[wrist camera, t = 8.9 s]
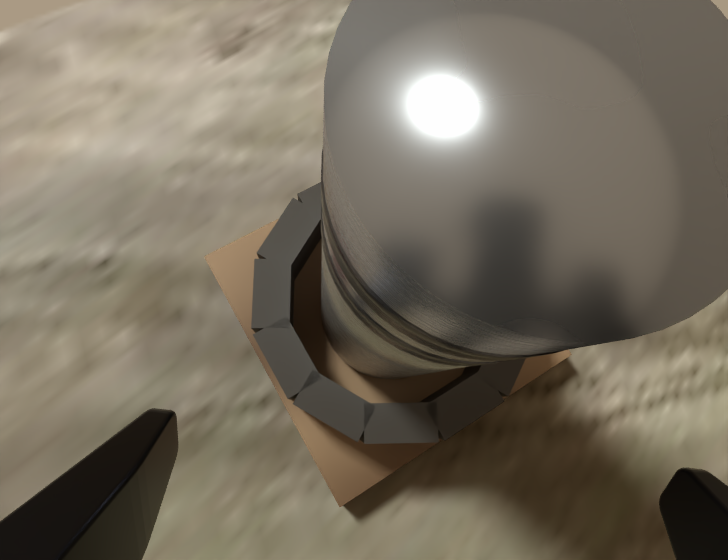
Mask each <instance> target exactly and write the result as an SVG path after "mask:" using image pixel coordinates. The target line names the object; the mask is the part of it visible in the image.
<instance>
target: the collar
mask: <svg viewBox="0 0 728 560" xmlns="http://www.w3.org/2000/svg"><path fill="white" fill-rule="evenodd" d="M204 257H205V259H206V261H207V263H208V265H209V267H210V268H211V270H212V272H213V274H214V276H215V278H216V280H217V281H218V283H219V285H220V287H221V289H222V291H223V292H224V294H225V296H226V298H227V300H228V302H229V304H230V305H231V307H232V309H233V311H234V313H235V315H236V317H237V318H238V320H239V322H240V324H241V326H242V328H243V329H244V331H245V333H246V335H247V337H248V339H249V341H250V342H251V344H252V346H253V348H254V350H255V352H256V353H257V355H258V357H259V359H260V361H261V363H262V365H263V366H264V368H265V370H266V372H267V374H268V376H269V378H270V379H271V381H272V383H273V385H274V387H275V389H276V390H277V392H278V394H279V396H280V398H281V400H282V402H283V403H284V405H285V407H286V409H287V411H288V413H289V415H290V416H291V418H292V420H293V422H294V424H295V426H296V427H297V429H298V431H299V433H300V435H301V437H302V439H303V440H304V442H305V444H306V446H307V448H308V450H309V452H310V453H311V455H312V457H313V459H314V461H315V463H316V464H317V466H318V468H319V470H320V472H321V474H322V476H323V477H324V479H325V481H326V483H327V485H328V487H329V488H330V490H331V492H332V494H333V496H334V498H335V500H336V501H337V503H338V505H339V507H341V506H343V505H344V504H346V503H347V502H349V501H350V500H352V499H353V498H355V497H356V496H358V495H359V494H361V493H362V492H364V491H366V490H367V489H369V488H370V487H372V486H373V485H375V484H376V483H378V482H379V481H381V480H382V479H384V478H385V477H387V476H388V475H390V474H391V473H393V472H394V471H396V470H397V469H399V468H400V467H402V466H403V465H405V464H406V463H408V462H410V461H411V460H413V459H414V458H416V457H417V456H419V455H420V454H422V453H423V452H425V451H426V450H428V449H429V448H431V447H432V446H434V445H435V444H437V443H438V442H440V441H441V440H447V439H448V438H450V437H451V436H453V435H454V434H456V433H457V432H459V431H460V430H462V429H463V428H465V427H466V426H468V425H469V424H471V423H472V422H474V421H475V420H477V419H478V418H480V417H481V416H483V415H484V414H486V413H487V412H489V411H490V410H492V409H494V408H495V407H497V406H498V405H500V404H501V403H503V402H504V399H505V398H507V397H508V396H510V395H511V394H513V393H514V392H516V391H517V390H519V389H520V388H522V387H523V386H525V385H526V384H528V383H529V382H531V381H532V380H534V379H536V378H537V377H539V376H540V375H542V374H543V373H545V372H546V371H548V370H549V369H551V368H552V367H554V366H555V365H557V364H558V363H560V362H561V361H563V360H564V359H566V358H567V357H569V356H570V355H572V354H571V353H570V351H569V350H564V351H561V352H557V353H554V354H548V355H542V356H536V357H530V358H523V359H515V360H511V361H505V362H499V363H493V364H486V365H478V366H469V367H463V368H458V369H452V370H446V371H440V372H434V373H429V374H423V375H417V376H411V377H405V378H399V379H381V378H375V377H371V376H368V375H365V374H363V373H360V372H358V371H357V370H355V369H353V368H352V367H350V366H349V365H348V364H346V363H345V362H344V361H343V360H342V359H341V358H340V357H339V356H338V355H337V354H336V352H335V351H334V350H333V348H332V347H331V345H330V343H329V342H328V340H327V337H326V335H325V332H324V329H323V325H322V320H321V267H322V236H321V182H320V183H318V184H316V185H314V186H312V187H310V188H308V189H306V190H304V191H302V192H300V193H298V200H296V199H294V198H293V199H292V200H291V202H290V203H289V205H288V206H287V208H286V209H285V211H284V212H283V214H282V215H281V217H280V218H279V219H277V220H275V221H273V222H271V223H269V224H267V225H265V226H263V227H261V228H259V229H257V230H255V231H253V232H251V233H249V234H247V235H245V236H243V237H241V238H240V239H238V240H236V241H234V242H232V243H230V244H228V245H226V246H224V247H222V248H220V249H218V250H216V251H214V252H212V253H210V254H208V255H206V256H204Z"/></svg>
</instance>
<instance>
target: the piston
mask: <svg viewBox="0 0 728 560" xmlns="http://www.w3.org/2000/svg"><path fill="white" fill-rule="evenodd" d="M321 236H322V267H321V320H322V325H323V329H324V332H325V335H326V337H327V340H328V342H329V343H330V345H331V347H332V348H333V350H334V351H335V352H336V354H337V355H338V356H339V357H340V358H341V359H342V360H343V361H344V362H345V363H346V364H348V365H349V366H350V367H352V368H353V369H355V370H357V371H358V372H360V373H363V374H365V375H368V376H371V377H375V378H381V379H399V378H405V377H411V376H417V375H423V374H429V373H434V372H440V371H446V370H452V369H458V368H463V367H469V366H478V365H486V364H493V363H499V362H505V361H511V360H515V359H523V358H530V357H536V356H542V355H548V354H554V353H557V352H561V351H564V350H568V349H573V348H579V347H585V346H591V345H596V344H602V343H608V342H614V341H619V340H625V339H631V338H635V337H639V336H642V335H646V334H649V333H653V332H656V331H660V330H663V329H665V328H667V327H670V326H672V325H674V324H676V323H678V322H681V321H683V320H685V319H687V318H689V317H691V316H693V315H694V314H696V313H697V312H699V311H700V310H702V309H703V308H705V307H706V306H708V305H709V304H711V303H712V302H714V301H715V300H716V299H717V298H718V297H719V296H720V295H721V294H723V293H724V292H725V291H726V290H727V289H728V20H727V18H726V17H725V16H724V15H723V13H722V12H721V11H720V10H719V9H718V8H717V6H716V5H715V4H714V3H713V2H711V0H352V2H351V3H350V4H349V6H348V8H347V10H346V12H345V14H344V16H343V18H342V20H341V22H340V24H339V26H338V28H337V31H336V34H335V37H334V40H333V43H332V46H331V49H330V52H329V56H328V62H327V68H326V74H325V80H324V131H323V151H322V169H321Z"/></svg>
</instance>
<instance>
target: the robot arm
mask: <svg viewBox="0 0 728 560" xmlns="http://www.w3.org/2000/svg"><path fill="white" fill-rule="evenodd" d="M177 452H178V431H177V418H176V414H175V412H174V411H172V410H164V409H155V408H152V409H149V410H147V411H146V412H144V413H143V414H142V415H140V416H139V417H138V418H136V419H135V420H134V421H132V422H131V423H130V424H128V425H127V426H126V427H124V428H123V429H122V430H121V431H119V432H118V433H117V434H115V435H114V436H113V437H111V438H110V439H109V440H107V441H106V442H105V443H103V444H102V445H101V446H99V447H98V448H97V449H95V450H94V451H93V452H91V453H90V454H89V455H87V456H86V457H85V458H83V459H82V460H81V461H80V462H78V463H77V464H76V465H74V466H73V467H72V468H70V469H69V470H68V471H66V472H65V473H64V474H62V475H61V476H60V477H58V478H57V479H56V480H54V481H53V482H52V483H50V484H49V485H48V486H46V487H45V488H44V489H42V490H41V491H40V492H38V493H37V494H36V495H35V496H33V497H32V498H31V499H29V500H28V501H27V502H25V503H24V504H23V505H21V506H20V507H19V508H17V509H16V510H15V511H13V512H12V513H11V514H9V515H8V516H7V517H5V518H4V519H3V520H1V521H0V560H142V558H143V556H144V553H145V551H146V548H147V546H148V543H149V540H150V537H151V534H152V531H153V528H154V525H155V522H156V519H157V516H158V513H159V510H160V506H161V503H162V500H163V497H164V494H165V491H166V488H167V485H168V482H169V479H170V476H171V472H172V469H173V466H174V463H175V460H176V457H177ZM659 506H660V511H661V514H662V517H663V521H664V524H665V527H666V530H667V533H668V536H669V539H670V542H671V545H672V548H673V551H674V554H675V557H676V560H728V486H727V485H725V484H724V483H723V482H721V481H720V480H719V479H717V478H716V477H715V476H713V475H712V474H711V473H709V472H707V471H705V470H702V469H693V468H681V469H679V470H678V471H677V472H676V473H675V474H674V476H673V477H672V479H671V480H670V482H669V484H668V485H667V487H666V488H665V490H664V491H663V493H662V494H661V496H660V500H659Z"/></svg>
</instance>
